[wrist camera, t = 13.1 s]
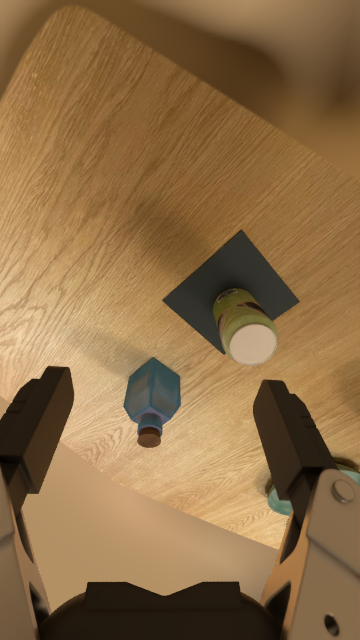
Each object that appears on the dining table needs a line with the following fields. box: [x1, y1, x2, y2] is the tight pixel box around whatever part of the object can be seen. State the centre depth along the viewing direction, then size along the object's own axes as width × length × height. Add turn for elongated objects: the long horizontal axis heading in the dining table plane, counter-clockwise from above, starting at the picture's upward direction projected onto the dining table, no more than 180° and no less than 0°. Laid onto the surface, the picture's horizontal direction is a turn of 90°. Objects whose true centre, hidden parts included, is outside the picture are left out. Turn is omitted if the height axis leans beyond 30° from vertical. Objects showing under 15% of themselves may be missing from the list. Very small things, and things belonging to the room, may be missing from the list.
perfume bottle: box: [123, 357, 181, 448], centre depth 40 cm, size 6×6×12 cm
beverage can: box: [213, 288, 278, 366], centre depth 32 cm, size 6×7×12 cm
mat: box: [162, 230, 300, 354], centre depth 37 cm, size 14×14×1 cm
